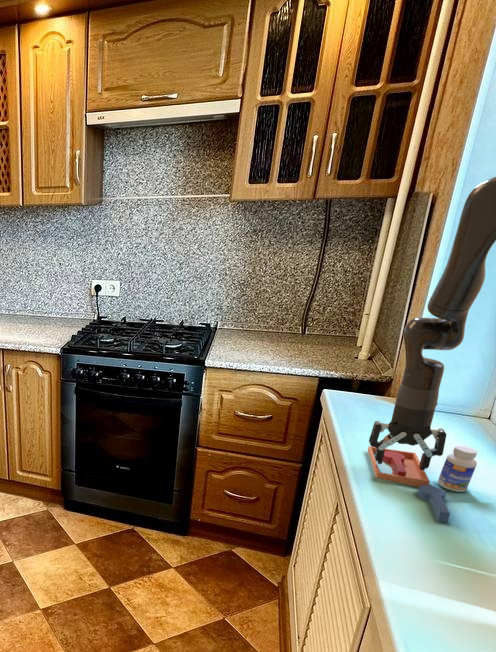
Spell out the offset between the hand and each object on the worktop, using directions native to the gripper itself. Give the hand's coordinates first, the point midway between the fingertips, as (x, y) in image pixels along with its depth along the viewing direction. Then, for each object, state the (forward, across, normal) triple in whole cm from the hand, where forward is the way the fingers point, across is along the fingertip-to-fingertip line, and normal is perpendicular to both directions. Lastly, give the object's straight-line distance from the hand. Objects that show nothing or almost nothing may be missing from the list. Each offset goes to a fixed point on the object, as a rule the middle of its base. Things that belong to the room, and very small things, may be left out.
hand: (399, 465), depth 127 cm
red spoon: (+2, 0, -3) cm, 3 cm away
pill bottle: (+3, -10, +2) cm, 11 cm away
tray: (+2, 0, -3) cm, 4 cm away
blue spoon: (+2, -5, +13) cm, 14 cm away
